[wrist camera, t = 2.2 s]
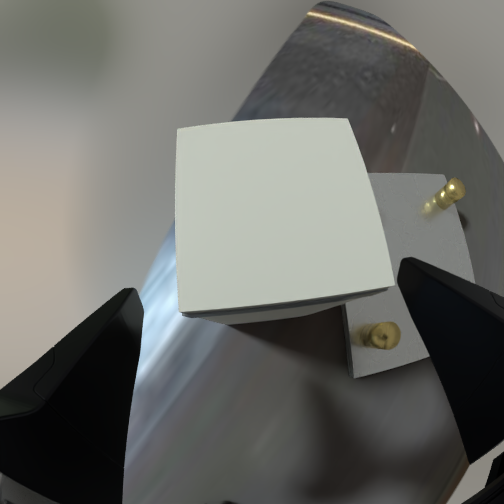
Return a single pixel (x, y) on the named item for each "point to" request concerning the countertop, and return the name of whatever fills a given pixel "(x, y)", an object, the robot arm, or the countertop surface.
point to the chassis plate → (399, 246)
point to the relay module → (274, 220)
